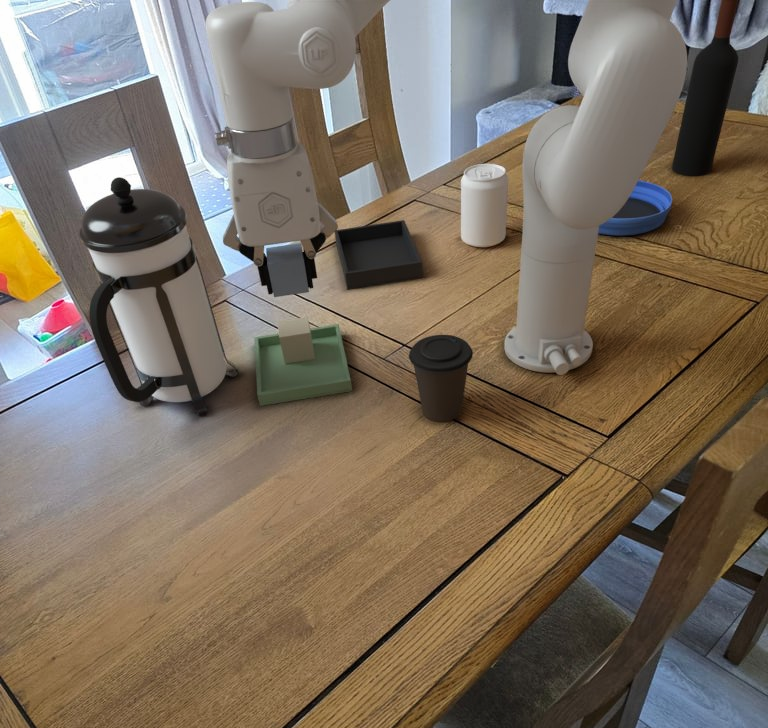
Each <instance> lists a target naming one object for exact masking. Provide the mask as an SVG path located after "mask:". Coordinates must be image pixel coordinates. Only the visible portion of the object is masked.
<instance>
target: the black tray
mask: <svg viewBox="0 0 768 728" xmlns="http://www.w3.org/2000/svg"><path fill="white" fill-rule="evenodd" d="M334 238H335V247H336V250H337V254H338V258H339V262H340V266H341V270H342V274H343V278H344V282H345V286H346V290H352V289H358V288H366V287H371V286H378V285H379V286H380V285H385V284H391V283H398V282H404V281H411V280H417V279H423V278H424V277H423V276H424V273H423V272H424V271H423V260H422V259H421V256H420V253H419V250H418V248H417V247H416V244H415V242H414V240H413V237H412V235H411V232H410V230H409V228H408V225H407V223H406V220H405V219H401V220H395V221H389V222H380V223H375V224H367V225H361V226H354V227H349V228H347V227H346V228H342V229H337V230H336V231H335V232H334Z"/></svg>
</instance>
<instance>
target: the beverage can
mask: <svg viewBox="0 0 768 728" xmlns="http://www.w3.org/2000/svg"><path fill="white" fill-rule="evenodd" d="M508 194H509V176H508V174H507V170H506V168H505V167H504V166H502V165H499V164H496V163H479V164H474V165H471V166H469V167H467V168H466V169H464V171H463V175H462V177H461V180H460V238H461V241H462V242H463V243H464V244H466V245H468V246H471V247H474V248H490V247H494V246H496V245H498V244H500V243H501V242H503V241H504V240H505V239H506V235H507V219H508V218H507V215H508V198H509V197H508V196H509V195H508Z"/></svg>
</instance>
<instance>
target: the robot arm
mask: <svg viewBox="0 0 768 728" xmlns="http://www.w3.org/2000/svg"><path fill="white" fill-rule="evenodd" d="M390 1H391V0H289V1H288V3H287V7H286V8H284V9H279V10H274V9H273V7H272V6H270V5H269V4H267V3H263V2H261V1H242V2H234V3H229V4H225V5H221V6H218V7H216V8H214V9H213V10H211V11H210V12H209V13H208V15H207V16H206V20H205V33H206V37H207V43H208V47H209V52H210V56H211V61H212V66H213V70H214V74H215V79H216V84H217V89H218V93H219V97H220V102H221V108H222V113H223V116H224V121H225V125H226V126H225V127H224V130H221V131H220V132H215V133H214V136H215V141H216V145H217V146H218V147H220V146H221V147H222V146H224V147H227V148H228V150H230V151H229V152H228V154H227V157H226V171H227V182H228V190H229V196H230V201H231V207H232V212H233V214H232V216H231V219H230V221H229V223H228V224H227V227H226V229H225V231H224V233H223V235H222V244H223V245H224V246H226V247H228V248H229V249H232V250H234V251H236V252H239V253H240V254H241V255H242V256H244V258H247V259H248V260H249V261H251V262H252V263H253V264H254V266H256V267H257V271H258V275H259V281H260V285H261V287H265V286H266V289H267V290H266V291H267V294H268V295H273V290H272V285H271V280H270V275H269V270H268V266H267V254H266V252H265V246H273V245H280V244H286V243H295V242H300V243H301V245H302V252H303V258H304V264H305V270H306V276H307V282H308V288H309V289H310V290H311V289H314V283H313V282H314V281H313V280H314V279H318V273H317V266H316V260H315V258H316V256H317V253H318V252H319V251H320V249H321V248H322V247H323V246H324V245H325V243H326V242H327V241H326V240H327V239H329V238H330V237H331V236H332V235H333V234H335V231H336V230H339V229H338V228H339V225H338V221H337V220H336V219H335V217H333V215H332V214H331V213H330V212H329V211H328V210H327V209H326V207H324V206H323V205H322V204H321V203H320V201H318V197H317V192H316V187H315V181H314V177H313V173H312V172H313V171H312V168H311V165H310V161H309V157H308V154H307V151H306V149H305V147H304V145H303V144H302V142H300V141H298V138H297V132H296V126H295V119H294V113H293V105H292V99H291V92H290V88H294V89H295V88H297V89H308V90H324V89H329V88H332V87H335V86H336V85H338V84H340V83H342V82H343V81H344V80H345V79H346V78H347V76H348V75H349V74H350V73H351V71H352V70H353V66H354V64H355V60H356V54H357V42H356V37H357V36H358V35H359V34H360V33H361V31H363V29H364V28H365V27H366V26H367V25H368V24H369V23H370V22H371V21H372V19H373V18H374V17H375V16H376V15H378V13H379V12H380V11H381V10H382V9H383V8H384V7H385V6H386V5H387V4H388V3H389V2H390ZM678 1H679V0H588V1H587V4H586V6H585V8H584V12H583V14H582V17H581V19H580V21H579V23H578V26H577V29H576V31H575V34H574V36H573V38H572V42H571V43H570V47H569V52H568V58H567V68H568V72H569V73H568V74H569V76H570V78H571V81H572V83H573V84H574V87H576V89H577V90H578V92H579V93H580V94H581V95H582V96H583V97H582V100H581V103H580V105H579V106H578V105H574V104H573V105H572V104H569V105H567V104H566V105H561V106H557V107H555V108H554V107H553V109H552V108H551V110H548V111H547V112H546V113H544V114H543V115H542V116H541V117H540V118H538V119H537V121H536V122H535V124H534V125H532V128H531V130H530V132H529V133H528V136H527V139H526V141H525V145H524V148H523V155H522V196H523V198H522V199H523V203H522V204H523V208H522V209H523V211H522V213H523V215H522V233H521V234H522V235H521V236H522V237H521V249H520V262H519V278H518V295H517V307H516V308H517V311H516V323H515V327H513V328H512V329H510V331H509V332H508V333H507V334H506V336H505V337H504V342H503V343H504V344H503V345H504V347H503V349H504V353H505V355H506V357H507V358H508V359H509V360H510V361H511V362H512V363H514V364H515V365H517V366H519V367H520V368H523V369H526V370H528V371H532V372H538V373H547V374H549V373H550V374H551V373H553V374H554V373H556V375H558V376H563V375H565V374H567V373H568V372H569V371H571V370H573V369H576V368H578V367H580V366H582V365H583V364H585V363H586V362H587V361H588V360H589V359H590V357H591V355H592V353H593V347H594V343H593V339H592V337H591V335H590V333H588V332H587V330H585V325H586V318H587V313H588V312H587V311H588V305H589V299H590V291H591V286H592V285H591V284H592V278H593V272H594V265H595V257H596V252H597V251H596V250H597V245H598V239H599V233H598V231H599V225H601V224H603V223H605V222H607V221H608V220H609V219H611V218H612V217H613V216H614V215H615V214H616V213H617V212H618V211H619V210H620V209H621V208H622V207H623V205H624V204H625V203H626V201H627V200H628V198H629V197H630V195H631V193H632V192H633V190H634V188H635V186H636V184H637V183H638V181H639V180H640V178H641V176H642V175H643V174H644V173H643V172H644V170H645V169H646V167H647V165H648V162H649V161H650V159H651V157H652V155H653V153H654V151H655V149H656V148H657V145H658V143H659V141H660V139H661V137H662V135H663V133H664V131H665V129H666V127H667V124H668V123H669V121H670V119H671V117H672V115H673V113H674V111H675V109H676V106H677V104H678V102H679V99H680V97H681V94H682V90H683V89H684V84H685V80H686V75H687V68H688V52H687V51H688V50H687V46H686V43H685V40H684V37H683V35H682V33H681V32H680V29H679V28H678V27H677V26H676V25H675V24H674V23H673V22H672V21H671V18H672V16H673V12H674V10H675V8H676V5H677V4H678ZM321 223H322V224H321Z"/></svg>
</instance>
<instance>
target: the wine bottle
mask: <svg viewBox="0 0 768 728" xmlns="http://www.w3.org/2000/svg"><path fill="white" fill-rule="evenodd" d="M738 4H739V0H721V2H720V8H719V11H718V16H717V18H716V19H717V20H716V23H715V29H714V33H713V37H712V39H711V42H710V43H708V45H706V46H705V47H703V48H702V49H701V50H700V51H699V52H698V54H696V57H695V59H694V61H693V65H692V70H691V75H690V80H689V83H688V89H687V92H686V93H687V95H686V99H685V102H684V103H685V104H684V108H683V113H682V118H681V122H680V127H679V130H678V137H677V140H676V146H675V149H674V150H675V151H674V156H673V161H672V165H671V169H672V171H673V173H675V174H678V175H679V176H680V175H681V176H684V177H685V176H686V177H687V176H688V177H700V176H704V175H707V174H709V173H711V171H712V168H713V164H714V160H715V156H716V152H717V148H718V144H719V140H720V137H721V132H722V128H723V124H724V120H725V117H726V113H727V109H728V103H729V101H730V96H731V91H732V87H733V84H734V80H735V76H736V71H737V68H738V64H739V54H738V52H737V50H736V49H735V48H734V47H733V45H732V44H731V34H732V30H733V25H734V21H735V17H736V12H737V9H738V6H739V5H738Z"/></svg>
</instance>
